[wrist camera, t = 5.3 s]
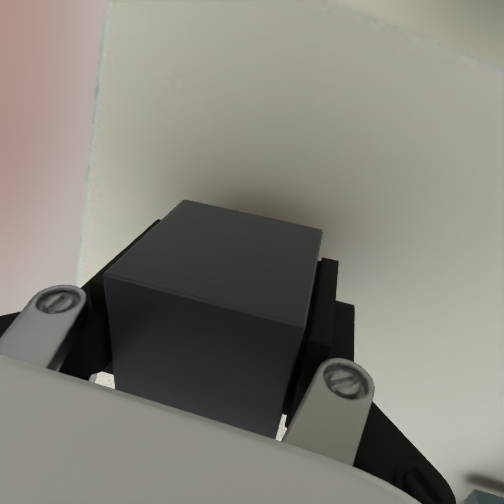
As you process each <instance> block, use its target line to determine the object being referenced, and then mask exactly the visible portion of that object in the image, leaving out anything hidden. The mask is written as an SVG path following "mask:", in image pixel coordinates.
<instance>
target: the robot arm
mask: <svg viewBox="0 0 504 504" xmlns="http://www.w3.org/2000/svg"><path fill="white" fill-rule="evenodd" d="M160 221H161V220H160V219H158V220H156V221H155V222H154V223H153V224H152V225H151V226H150V227H148V228H147V229H146V230H145V231H144V232H143V233H142V234H141V235H140V236H138V237H137V238H136V239H135V240H134V241H133V242H132V243H131V244H130V245H129V246H127V247H126V248H125V249H124V250H123V251H121V252H120V253H119V254H118V255H117V256H116V257H115V258H114V259H112V260H111V261H110V262H109V263H108V264H107V265H106V266H105V267H104V268H102V269H101V270H100V271H99V272H98V273H97V274H96V275H95V276H94V277H92V278H91V279H90V280H89V281H88V282H87V283H86V284H85V285H84V286H82V287H81V288H79V287H77V286H72V285H57V286H52V287H49V288H47V289H44V290H42V291H40V292H39V293H37V294H36V295H35V296H34V297H33V298H32V299H31V300H30V301H29V302H28V304H27V305H26V306H25V308H24V309H23V310H22V311H21V312H17V313H13V314H7V315H3V316H0V504H456V500H455V496H454V494H453V492H452V490H451V488H450V486H449V484H448V483H447V482H446V480H445V479H444V478H443V476H442V475H441V474H440V473H439V472H438V471H437V470H436V469H435V468H434V467H433V465H432V464H431V463H430V462H429V461H428V460H427V459H426V458H425V457H424V456H423V455H422V454H421V453H420V452H419V451H418V449H417V448H416V447H415V446H414V445H413V444H412V443H411V442H410V441H409V440H408V439H407V438H406V437H405V436H404V435H403V433H402V432H401V431H400V430H399V429H398V428H397V427H396V426H395V425H394V424H393V423H392V422H391V421H390V420H389V419H388V417H387V416H386V415H385V414H384V413H383V412H382V411H381V410H380V409H379V408H378V407H377V406H376V405H375V404H374V403H373V401H372V399H373V396H374V389H375V386H374V383H373V380H372V378H371V377H370V375H369V374H368V372H367V371H366V370H364V369H363V368H362V367H361V366H360V365H358V364H356V363H355V362H354V317H355V308H354V305H352V304H348V303H343V302H339V301H335V299H336V288H337V276H338V265H339V261H336V260H332V259H328V258H323V257H322V260H321V261H317V266H316V272H315V277H314V283H313V288H312V294H311V299H310V305H309V310H308V316H307V321H306V326H305V331H304V334H303V338H302V342H301V345H300V349H299V353H298V357H297V360H296V364H295V368H294V372H293V375H292V379H291V383H290V387H289V390H288V394H287V398H286V402H285V405H284V409H283V413H282V414H285V415H287V417H286V422H285V427H287V431H286V433H285V435H284V437H283V439H282V441H278V440H275V439H272V438H269V437H265V436H262V435H259V434H256V433H253V432H250V431H246V430H243V429H240V428H237V427H234V426H231V425H227V424H224V423H221V422H218V421H215V420H212V419H208V418H205V417H202V416H199V415H196V414H193V413H189V412H186V411H183V410H180V409H177V408H173V407H170V406H167V405H164V404H161V403H157V402H154V401H151V400H148V399H144V398H141V397H138V396H135V395H132V394H128V393H125V392H122V391H119V390H115V389H112V388H109V387H106V386H102V385H99V384H96V383H95V380H96V377H97V373H99V372H102V371H103V372H106V373H109V374H112V375H114V373H113V363H112V354H111V345H110V336H109V327H108V317H107V308H106V299H105V290H104V280H103V275H104V272H106V271H107V270H108V269H109V268H110V267H111V266H112V265H113V264H114V263H115V262H116V261H117V260H119V259H120V258H121V257H122V256H123V255H124V254H125V253H126V252H127V251H128V250H129V249H130V248H132V247H133V246H134V245H135V244H136V243H137V242H138V241H139V240H140V239H141V238H142V237H143V236H145V235H146V234H147V233H148V232H149V231H150V230H151V229H152V228H153V227H154V226H155V225H156V224H158V223H159V222H160Z"/></svg>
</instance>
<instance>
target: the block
mask: <svg viewBox="0 0 504 504" xmlns="http://www.w3.org/2000/svg"><path fill="white" fill-rule="evenodd" d="M322 233H323V232H322V230H320V229H316V228H311V227H307V226H302V225H298V224H293V223H289V222H284V221H280V220H275V219H271V218H266V217H262V216H257V215H253V214H248V213H244V212H239V211H235V210H230V209H226V208H221V207H217V206H212V205H208V204H203V203H199V202H194V201H190V200H182V201H181V202H180V203H179V204H178V205H177V206H176V207H175V208H174V209H173V210H172V211H171V212H169V213H168V214H167V215H166V216H165V217H164V218H163V219H162V220H161V221H160V222H159V223H158V224H156V225H155V226H154V227H153V228H152V229H151V230H150V231H149V232H148V233H147V234H146V235H145V236H143V237H142V238H141V239H140V240H139V241H138V242H137V243H136V244H135V245H134V246H133V247H132V248H130V249H129V250H128V251H127V252H126V253H125V254H124V255H123V256H122V257H121V258H120V259H119V260H117V261H116V262H115V263H114V264H113V265H112V266H111V267H110V268H109V269H108V270H107V271H106V272H104V275H103V280H104V290H105V299H106V308H107V317H108V327H109V336H110V345H111V354H112V363H113V373H114V382H115V390H119V391H122V392H125V393H128V394H132V395H135V396H138V397H141V398H144V399H148V400H151V401H154V402H157V403H161V404H164V405H167V406H170V407H173V408H177V409H180V410H183V411H186V412H189V413H193V414H196V415H199V416H202V417H205V418H208V419H212V420H215V421H218V422H221V423H224V424H227V425H231V426H234V427H237V428H240V429H243V430H246V431H250V432H253V433H256V434H259V435H262V436H265V437H269V438H272V439H276V435H277V432H278V428H279V424H280V420H281V417H282V413H283V409H284V405H285V402H286V398H287V394H288V390H289V387H290V383H291V379H292V375H293V372H294V368H295V364H296V360H297V357H298V353H299V349H300V345H301V342H302V338H303V334H304V331H305V326H306V321H307V316H308V310H309V305H310V299H311V294H312V288H313V283H314V277H315V272H316V266H317V261H318V255H319V250H320V244H321V239H322Z"/></svg>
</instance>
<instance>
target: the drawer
mask: <svg viewBox="0 0 504 504" xmlns="http://www.w3.org/2000/svg"><path fill="white" fill-rule="evenodd" d="M465 504H504V498H503V497H499V496H496V495H493V494H489V493H486V492H483V491H479V490H476V489H474V490H473V491H472V492H471V494H470V495H469V496H468V497H467V499H466V500H465Z"/></svg>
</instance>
